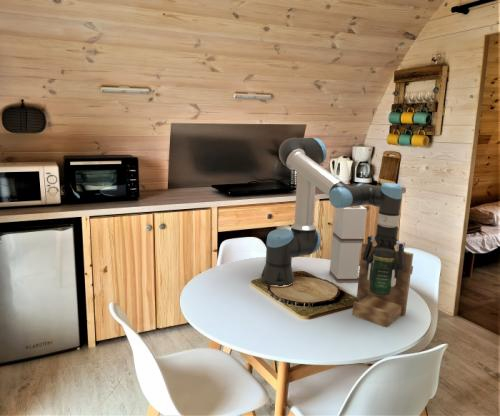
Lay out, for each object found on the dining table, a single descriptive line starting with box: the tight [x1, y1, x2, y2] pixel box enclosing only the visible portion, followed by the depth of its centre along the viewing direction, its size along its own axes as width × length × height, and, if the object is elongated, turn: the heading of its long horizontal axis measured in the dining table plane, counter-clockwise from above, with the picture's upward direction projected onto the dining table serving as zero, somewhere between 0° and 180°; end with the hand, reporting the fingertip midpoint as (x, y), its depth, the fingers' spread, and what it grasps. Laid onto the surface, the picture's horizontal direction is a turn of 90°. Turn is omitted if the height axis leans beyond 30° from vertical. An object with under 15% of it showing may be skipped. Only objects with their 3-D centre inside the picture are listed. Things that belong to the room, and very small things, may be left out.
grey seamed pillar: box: [328, 205, 368, 284], centre depth 204 cm, size 11×11×35 cm
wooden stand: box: [351, 241, 414, 328], centre depth 170 cm, size 20×17×25 cm
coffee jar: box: [370, 246, 395, 296], centre depth 167 cm, size 10×8×19 cm
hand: (381, 282), depth 168 cm, fingers closed on coffee jar, 9 cm apart
